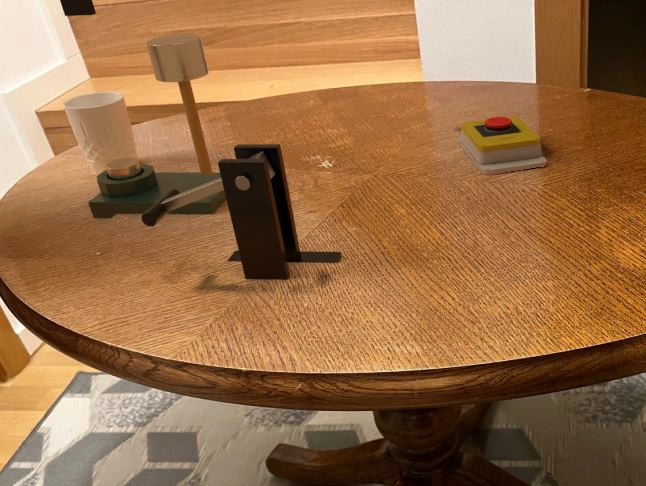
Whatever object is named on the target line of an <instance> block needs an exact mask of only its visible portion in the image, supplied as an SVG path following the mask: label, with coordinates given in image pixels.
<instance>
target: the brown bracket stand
mask: <svg viewBox="0 0 646 486" xmlns="http://www.w3.org/2000/svg"><path fill="white" fill-rule="evenodd" d="M233 151H234V156H235V158H221V159H220V160H218V162H217V166H218V170H219V172H220V175H221V179H222V183H223V187H224V191H225V196H226V203H227V208H228V212H229V216H230V220H231V224H232V229H233V233H234V238H235V241H236V245H237V250H234V251H233V253H232V254H231V256H229V258H228V259H227V260H226V262H227V263H229V262H233V263H234V262H236V263H238V262H239V263H241V266H242V271H243V276H244V279H245V280H264V281H265V280H270V281H274V280H275V281H287V280H288V279H289V278H290V276H291V274H290V269H289V263H295V264H296V263H298V264H300V263H301V264H303V263H305V264H308V263H309V264H339V263H340V261H341V259H342V257H343V255H342V251H309V250H305V251H302V250H300V243H299V238H298V232H297V226H296V222H295V215H294V210H293V207H292V206H293V205H292V200H291V195H290V190H289V185H288V184H289V183H288V178H287V174H286V173H287V172H286V167H285V162H284V157H283V152H282V147H281V144H280V143H269V144H268V143H267V144H266V143H265V144H264V143H263V144H261V143H256V144H255V143H254V144H253V143H250V144H248V143H247V144H245V143H244V144H241V143H240V144H238V143H237V144H235V146H234V147H233ZM262 151H263V152H264V154H265V156H266V157H267V159H268V161H269V163H270V164H271V166H272V168H273V170H274V172H275V175H274V176H273V177H272V178H270V173H269V168H268V163H267V159H245V158H247V157H250V156H252V155H255V154H257V153H260V152H262Z"/></svg>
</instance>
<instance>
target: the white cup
mask: <svg viewBox="0 0 646 486" xmlns="http://www.w3.org/2000/svg"><path fill="white" fill-rule="evenodd" d="M62 106H63V108H64V111H65V113H66V117H67V119H68V122H69V125H70V127H71V129H72V131H73V134H74V137H75V139H76V141H77V144H78V146H79V149H80V150H81V153H82V155H83V157H84V158H85V161H86V163H87V166H88V168H89V171H90V174H91V175H92V176H95V177H97V176H98V175H99V174H100V173H102V172H103V171H105V170H107V169H106V164H107V163H109V162H111V161H114V160H117V159H121V158H136V159H138V160H139V156H138V153H137V147H136V141H135V136H134V135H135V134H134V132H133V127H132V124H131V123H132V122H131V120H130V119H131V118H130V114H129V112H128V108H127V103H126V99H125V95H124V94H123V93H122V92H119V91H118V92H117V91H99V92H97V91H96V92H90V93H84V94H80V95H77V96H74V97H71V98H69V99H67V100H65V101H63V104H62Z"/></svg>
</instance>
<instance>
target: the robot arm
mask: <svg viewBox="0 0 646 486" xmlns="http://www.w3.org/2000/svg"><path fill="white" fill-rule="evenodd" d="M59 2H60V5H61V8H62V11H63V14H64V16H65V17H74V16H75V17H77V16H78V17H79V16H80V17H81V16H93V15H96V14H97V12H96V8H95V6H94V1H93V0H59Z"/></svg>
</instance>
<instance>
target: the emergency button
mask: <svg viewBox="0 0 646 486" xmlns="http://www.w3.org/2000/svg"><path fill="white" fill-rule="evenodd" d="M457 142H458V145H459V146H460V147H461V148H462V150H463V151H464V152H465V154H466V155H467V156H468V157H469V159H470V160H471V161H472V163H473V164H474V165H475V167H476V168H477V169H478V170H479V171H480V173H481V174H483V175H486V176H490V175H491V176H492V175H499V174H506V173H505V172H507V173H512V172H511V171H514V172H519V171H518V170H521V171H524V170H523V169H528V168H533V167H540V166H545V165H546V164H547V165H548V159H546V157H545V156H544V155H543V154H542V138H541V136H540V135H539V134H538V133H537V132H536V131H535V130H533V128H532V127H530V126H529V125H528V124H527V123H526V122H525V121H523V119H521V118H520V117H519V116H514V115H513V116H494V117H489V118H487V119H480V120H479V119H478V120H472V121H471V120H470V121H465V122H464V121H463V122H462V123H461V125H460V136H458V141H457Z"/></svg>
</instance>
